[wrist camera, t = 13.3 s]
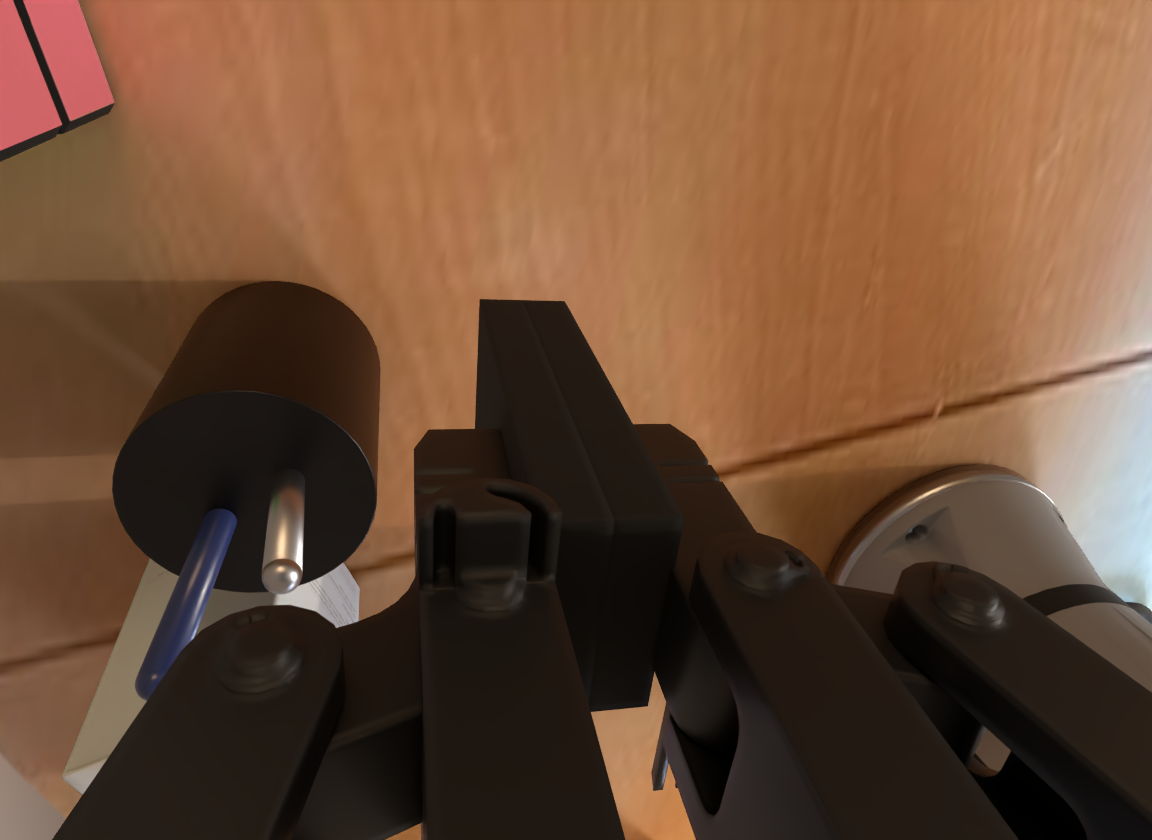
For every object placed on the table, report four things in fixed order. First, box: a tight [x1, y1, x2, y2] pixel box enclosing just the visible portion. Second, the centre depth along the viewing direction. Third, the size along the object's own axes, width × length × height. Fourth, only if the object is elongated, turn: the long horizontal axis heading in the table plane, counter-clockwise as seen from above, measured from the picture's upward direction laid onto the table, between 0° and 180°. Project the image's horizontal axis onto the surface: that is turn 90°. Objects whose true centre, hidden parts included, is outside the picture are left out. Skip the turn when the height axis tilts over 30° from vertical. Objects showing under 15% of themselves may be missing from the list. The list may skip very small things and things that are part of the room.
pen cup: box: [112, 281, 380, 701], centre depth 26 cm, size 8×8×16 cm
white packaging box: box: [62, 558, 360, 795], centre depth 32 cm, size 7×7×13 cm
